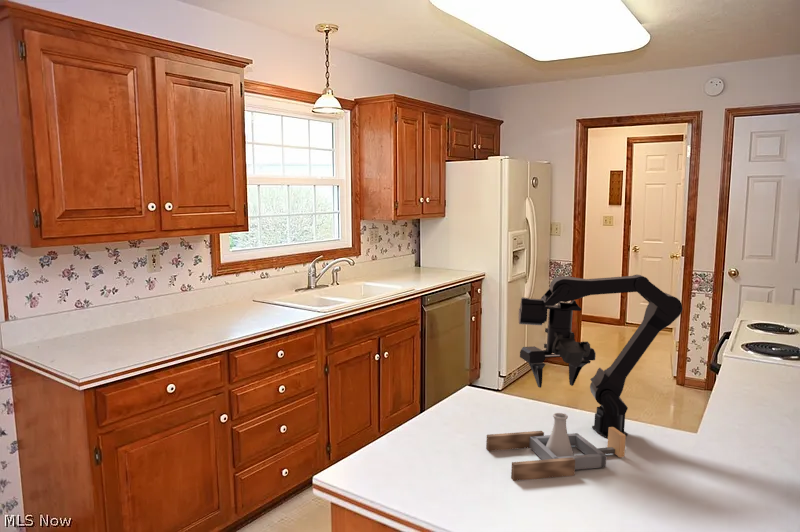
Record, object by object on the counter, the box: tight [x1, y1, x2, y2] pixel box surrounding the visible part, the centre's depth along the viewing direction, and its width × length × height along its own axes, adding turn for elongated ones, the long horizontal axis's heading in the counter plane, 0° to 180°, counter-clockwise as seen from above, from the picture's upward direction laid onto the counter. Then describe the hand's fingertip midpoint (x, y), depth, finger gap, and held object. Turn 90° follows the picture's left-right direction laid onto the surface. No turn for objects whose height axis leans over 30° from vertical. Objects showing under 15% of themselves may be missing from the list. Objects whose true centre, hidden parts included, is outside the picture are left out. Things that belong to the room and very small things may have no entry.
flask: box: [546, 412, 575, 457], centre depth 132 cm, size 7×7×10 cm
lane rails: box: [485, 430, 576, 482], centre depth 130 cm, size 14×16×4 cm
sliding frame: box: [529, 427, 627, 471], centre depth 133 cm, size 19×12×5 cm, turn 103°
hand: (555, 386), depth 148 cm, fingers open, 9 cm apart
